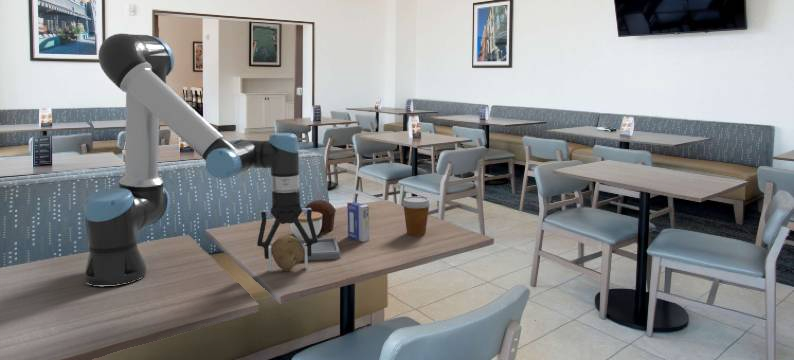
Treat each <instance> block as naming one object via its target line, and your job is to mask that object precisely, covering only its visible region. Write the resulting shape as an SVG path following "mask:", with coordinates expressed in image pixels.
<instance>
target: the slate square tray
mask: <svg viewBox="0 0 794 360" xmlns="http://www.w3.org/2000/svg"><path fill="white" fill-rule="evenodd" d="M298 240H299V239H298ZM317 240H318V242H317V243H314V244H312V245H311V253H312V254H311V256H307V257H308V261H320V260H322V261H323V260H335V259H341V253H340V248H339V245H338V241H337V239H336V237H327V238H324V237H323V238H317ZM299 241H300V243H301V244H302V246H303V248H304V244H306V242H305V240H299ZM303 261H304V262H305V256H304V258H303V260H302V261H301V262H303Z"/></svg>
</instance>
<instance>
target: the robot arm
mask: <svg viewBox="0 0 794 360" xmlns="http://www.w3.org/2000/svg"><path fill="white" fill-rule="evenodd" d="M97 55H98V62H99V65H100V68H101V69H102V72H103V73H104V74H105V75H106V76H107V78H108V79H109V80H110V81H111V82H112V83H113V84H114V85H115V86H116V87H117V88H119V89H120V91H122V92H123V93H125V145H124V146H125V149H124V151H125V154H124V156H125V161H124V165H125V166H124V167H125V168H124V175H123V176H122V177H121V178H120V179H119V181H118V188H117V187H116V188H109V189H106V190H99V191H97V192H95V193H93V194H91V195H90V194H89V196H88V197H87V198H86V199H85V201H84V213H83V214H84V218H85V224H86V225H85V226H86V233H87V241H88V250H89V254H88V258H87V262H86V265H85V271H84V282H85V281H86V282H87V283H89V284H92V285H117V284H123V283H128V282H132V281H134V280H137V279H139V278H141V277H143V276H144V275H145V274H146V273H148V272H147V265H146V262H145V260H144V258H143V257H142V254H141V251H140V250H139V248H138V239H137V232H138V231H140V230H142V229H144V228H146V227H148V226H152V225H154V224H156V223H158V222H159V221H160V220H162V219H163V218H164V217H165V216H166V215H167V214H168V212H169V210H170V207H171V198H170V194H169V191H167V189H166V187H164V180H163V179H162V178H161V177H160V176H159V143H160V142H159V139H160V121H161V122H162V123H163V124H165V125H166V126H167V127H168V128H169V129H170V130H171V131H173V133H175V135H177V136H178V137H179V138H180V139H181V140H183V142H184V143H185V144H186V145H188V146H189V147H190V148H191V149H192V150H193V151H194V152H196V154H198V155H199V156H200V157H201V158H202V159H203V160H204V161H205V167H206V170H207V172H208V173H209V174H210V175H211V176H212V177H214V178H215V179H219V180H224V179H225V180H226V179H228V178H233V177H235V176H236V175H238V174H240V173H244V172H246V171H248V170H250V169H270V182H271V183H270V184H271V190H272V191H271V202H272V203H271V204H272V206H271V208H270V209H267V210H265V209H262V210H261V211H260V215H261V222H260V227H259V233H258V237H257V238H258V239H257V241H256V243H257V245H256V246H258V247H262V248H263V251H264V252H263V253H264V259H265V260H268V268H269V269H268V270H269V272H273V256H272V252H271V248H272V245H270V244H271V242H272V240H273V238H274V236H275V235H276V232H277V230H278V228H279V226H280V224H281V225H284V224H285V225H286V224H289V225H290V224H291V223H294V224H295V225H296V227H297V228H298V230H299V232H300V234H301V235H302V237H303V239H304V240H305V242H306V244H304V252H305V255H304V256H305V261H304V269H306V270H307V269H309V262H308V261H309V260H308V257H307V256H311V254H312V253H311V245H312V244H314V243H317V242H318V240H317V239H318V237H317V236H318V235H317V236H316V232H315V229H314V225H313V222H312V218H311V214H312V210H311V208H305V207H304V208H303V207H302V206H301V194H300V191H301V190H299V189H300V187H301V186H300V171H299V170H300V167H299V166H300V164H299V163H300V162H299V161H300V158H299V152H300V149H299V144H298V136H297V135H296V134H295V133H292V132H276V133H271V134H270V135H269V139H268V140H256V139H255V140H253V139H251V140H250V139H238V140H237V139H235V140H234V139H232V140H230V141H229V140H228V139H226V137H225V136H223V134H221V133H220V132H219V131H218V130H217V129H216V128H215V127H214V126H213V125H211V124H210V122H208V121H207V120H206V119H205V118H204V117H203V116H202V115H201V114H199V112H198V111H196V110H195V109H194V108H193V107H192V106H191V105H189V103H187V102H186V100H184V99H183V98H182V97H181V96H180V95H179V94H178V93H176V92H175V90H173V89H172V88H171V87H170V86H169V85H168V84H167V77H168V76H169V75H170V73H172V71H173V70H174V66H175V57H174V53H173V51H172V49H171V47H170V46H169V45H168V44H167V43H166V42H165V41H164V40H163V39H161V38H159V37H157V36H152V35H149V34H132V33H131V34H129V33H117V34H116V33H115V34H113V35H110V36H108V37H107V38H105V40H104V41H103V42H102V43H101V44H100V47H99V50H98V54H97ZM301 213H304V216H307V221H308V224H309V228H310V231H311V235H312V238H311V239H310V238H309V237H308V235H307V233H306V232H305V230H304V228H303V226H302V225H301V223H300V221H299V219H298V217H299V215H300V214H301ZM270 215H272V217H273V218H274V219H275V220H274V222H273V224H272V226H271V228H270V231H269V232H268V235H267V237H266V239H265V240H263V239H264V234H265V231H266V224H267V219H269V218H270ZM146 275H147V274H146ZM143 278H144V277H143Z"/></svg>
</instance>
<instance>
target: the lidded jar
mask: <svg viewBox="0 0 794 360" xmlns="http://www.w3.org/2000/svg"><path fill="white" fill-rule="evenodd" d="M311 218H312V222H313V225H314V229H315V232H316V236H318V235H319V234H320V233H319V232H320V230H321V227H322V214H321V213H319V212H312V214H311ZM298 219H299V221H300V223H301V225H302V226H303V228H304V230H305V232H306V233H307V235H308V237H309V238H310V239H311V238H312V235H311V231H310V228H309V224H308V221H307V216H304V213H301V214H300V215H299V217H298ZM289 225H290V230H291V232H292V234H293V235H294V237H295V238H297V239H298V240H304V239H303V237H302V235H301V234H300V232H299V230H298V228H297V227H296V225H295V224H294V223H291V224H290V223H289Z"/></svg>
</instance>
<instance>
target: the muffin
mask: <svg viewBox="0 0 794 360" xmlns="http://www.w3.org/2000/svg"><path fill="white" fill-rule="evenodd" d="M304 208H311V210H312V212H319V213H321V214H322V227H321V230H320V232H319V234H323V233H328V232H331V231H332V230H334V226H335V218H336V212H337V209H336V208H335V207H334V206H333V205H332V203H331V202H329V201H326V200H322V199H317V200H313V201H311V202H309V203H308V204H307V205H305V207H304Z"/></svg>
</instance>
